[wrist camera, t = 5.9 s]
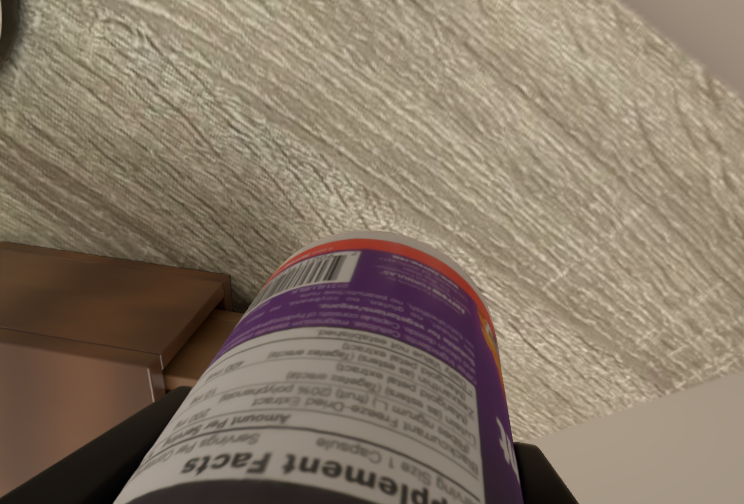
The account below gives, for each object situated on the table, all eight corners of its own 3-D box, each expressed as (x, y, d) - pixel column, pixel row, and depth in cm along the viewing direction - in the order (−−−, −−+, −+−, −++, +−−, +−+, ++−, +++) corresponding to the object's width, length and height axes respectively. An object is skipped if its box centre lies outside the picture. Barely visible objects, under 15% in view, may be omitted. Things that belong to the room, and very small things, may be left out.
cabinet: (230, 274, 23) (148, 367, 17) (241, 440, 28) (181, 559, 22) (0, 240, 25) (-155, 315, 18) (51, 405, 30) (-57, 508, 23)
